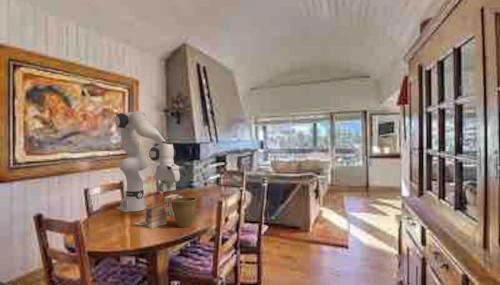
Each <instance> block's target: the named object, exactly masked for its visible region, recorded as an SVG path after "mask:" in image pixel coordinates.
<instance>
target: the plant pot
mask: <svg viewBox="0 0 500 285" xmlns="http://www.w3.org/2000/svg"><path fill="white" fill-rule="evenodd" d="M197 201H198V200H197V197H190V196H188V197H186V196H185V197H184V196H183V197H182V198H175V199H172V200H171V203H172V208H173V212H174V215H173V216H174V219H175V222H176V223H177V227H179V228H188V227H189V228H190V227H191V226H192V223H193V219H194V217H195V214H196V207H197Z"/></svg>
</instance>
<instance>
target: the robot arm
mask: <svg viewBox="0 0 500 285" xmlns="http://www.w3.org/2000/svg"><path fill="white" fill-rule="evenodd" d="M114 117H115V118H114V122H115V126H117V127H118V128H120V130H119V131H120V140H121V144H122V150H123V151H124V153H126V154H127V156H128V157H126V158H124V159H122V160H121V161H120V162H119V168H120V170H121V171H122V172H123V173H124V174H123V175H124V176H125V180H126V191H125V196H124V197H123V198H122V199H121V200H120V202H119V203H120V204H119V206H117V207H116V209H117V210H119V211H120V212H123V213H127V212H141V211H143V210H146V208H148V206H147V205H146V198H145V196H144V193H145V190H144V180H143V178H142V177H141V176H140V173H139V172H141V171H143V170H145V169H147V167H148V166H149V160H148V159H147V158H146V156H144V154H143V152H142V151H141V148H140V144H139V140H138V135H139V136H140V137H142V138H146V139H149V140H154V141H155V142H156V143H157V144H158V145H155V146H153V147H151V148H150V149H149V151H148V154H149V158H150V160H152V161H154V162H159V165H157V167H156V168H155V173H154V178H155V180H156V181H160V183H164V182H170V185H169V188H172V185H173V183H174V182H176V183H178V182H179V181H180V179H181V178H180V177H181V175H180V166H179V165H177V164H176V163H175V160H174V158H175V157H176V154H177V152H176V149H175V147H174V144H173V142H171V141H168V140H167V139H166V138H165V136H164V135H163V133H161V131H159V130H158V129H157V128H156V127H155V126H154V125H153V124H152V123H151V122H150V120H149V118H148V117H147V115H146V114H145V113H144V112H143V111H140V110H135V111H130V112H129V111H128V112H120V113H118V114H116V116H114Z"/></svg>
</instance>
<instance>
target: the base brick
mask: <svg viewBox="0 0 500 285" xmlns="http://www.w3.org/2000/svg"><path fill="white" fill-rule="evenodd" d="M167 218H168V215H167V214H164V215H161V216H157V217H153V218H150V217H146V216H145V217H144V221H145V226H144V227H146V228H149V229H155V228H158V227H161V226H165V225H167V221H168V220H167Z"/></svg>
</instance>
